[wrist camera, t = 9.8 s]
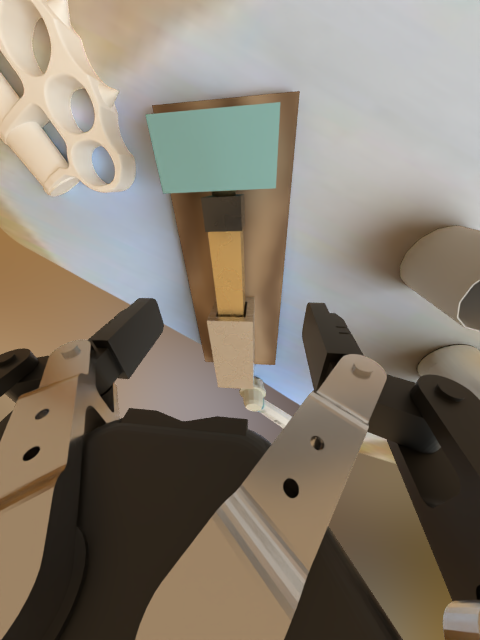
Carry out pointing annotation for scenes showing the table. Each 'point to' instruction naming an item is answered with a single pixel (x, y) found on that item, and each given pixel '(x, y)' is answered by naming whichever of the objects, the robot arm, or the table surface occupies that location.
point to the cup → (447, 272)
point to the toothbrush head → (263, 404)
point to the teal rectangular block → (216, 148)
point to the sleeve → (233, 346)
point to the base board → (258, 233)
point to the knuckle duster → (57, 102)
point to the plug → (226, 249)
